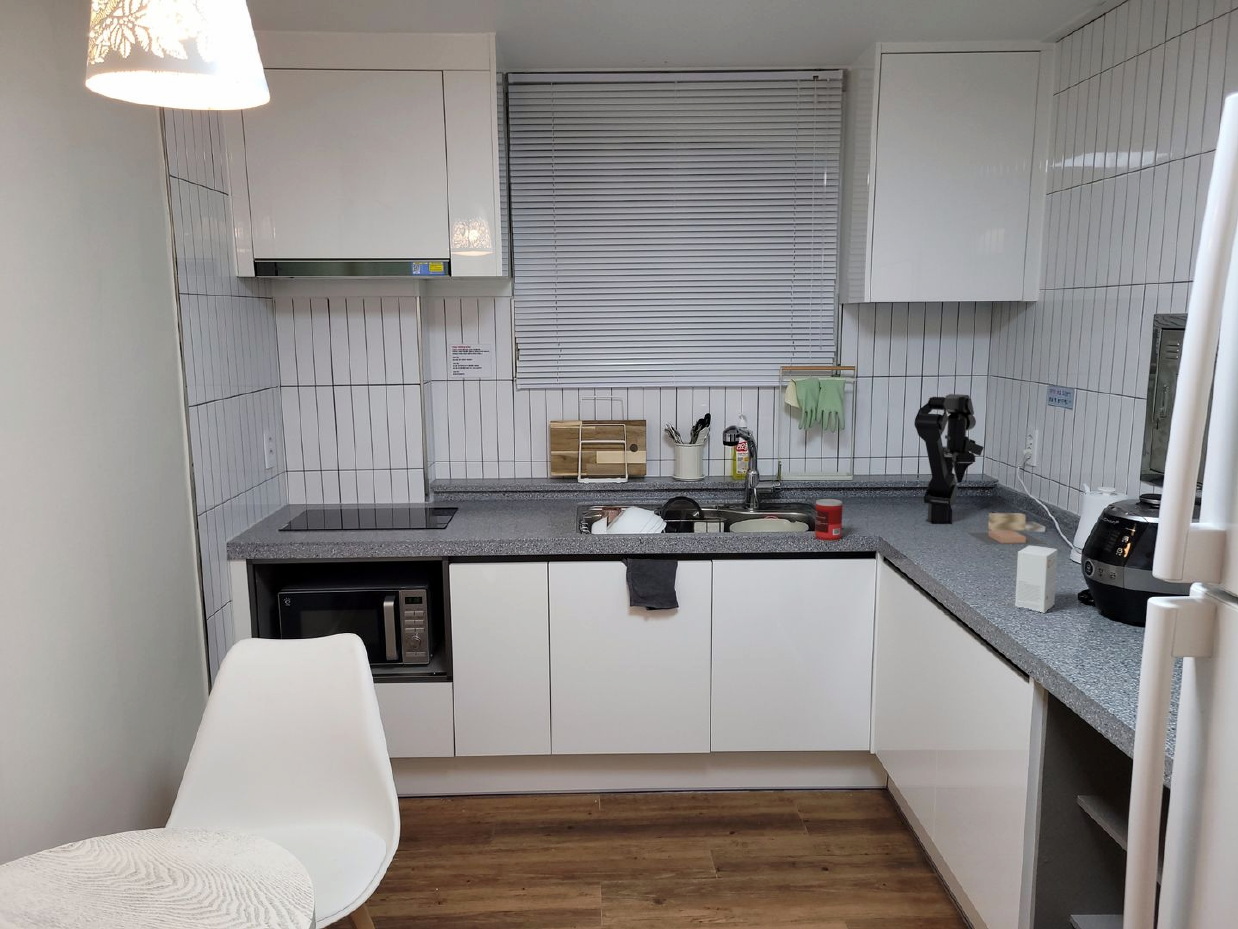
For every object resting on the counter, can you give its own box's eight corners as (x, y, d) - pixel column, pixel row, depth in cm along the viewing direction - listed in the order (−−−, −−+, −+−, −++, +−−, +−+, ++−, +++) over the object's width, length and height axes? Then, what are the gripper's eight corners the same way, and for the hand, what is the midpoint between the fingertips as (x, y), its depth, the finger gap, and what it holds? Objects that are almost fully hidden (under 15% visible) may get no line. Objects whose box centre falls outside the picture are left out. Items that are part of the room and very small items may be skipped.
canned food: (842, 535, 274) (843, 499, 272) (839, 541, 266) (841, 504, 265) (816, 534, 276) (817, 498, 275) (813, 539, 269) (814, 503, 267)
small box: (1025, 600, 208) (1028, 544, 206) (1054, 605, 204) (1058, 548, 202) (1013, 608, 202) (1017, 551, 200) (1044, 614, 198) (1048, 555, 196)
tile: (988, 536, 271) (1001, 543, 262) (988, 530, 271) (1001, 537, 262) (1011, 535, 271) (1025, 543, 262) (1012, 530, 271) (1025, 537, 262)
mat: (987, 545, 261) (987, 544, 261) (967, 533, 276) (967, 532, 276) (1046, 545, 261) (1047, 544, 261) (1023, 533, 276) (1023, 532, 276)
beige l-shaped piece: (995, 533, 277) (996, 516, 276) (984, 527, 285) (985, 511, 284) (1044, 532, 277) (1045, 516, 276) (1033, 527, 285) (1034, 511, 284)
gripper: (993, 436, 288) (990, 485, 290) (970, 429, 307) (967, 475, 309) (957, 436, 288) (955, 485, 290) (937, 429, 306) (934, 475, 309)
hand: (954, 480), depth 300 cm, fingers open, 9 cm apart
